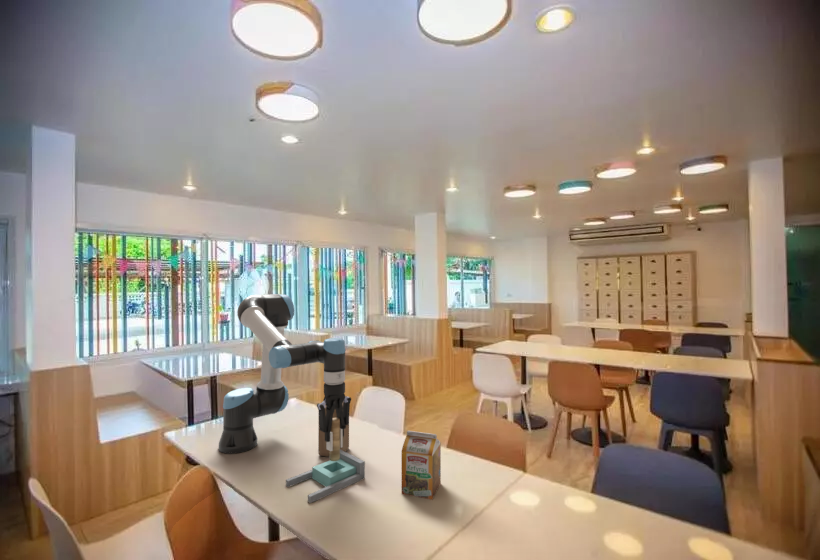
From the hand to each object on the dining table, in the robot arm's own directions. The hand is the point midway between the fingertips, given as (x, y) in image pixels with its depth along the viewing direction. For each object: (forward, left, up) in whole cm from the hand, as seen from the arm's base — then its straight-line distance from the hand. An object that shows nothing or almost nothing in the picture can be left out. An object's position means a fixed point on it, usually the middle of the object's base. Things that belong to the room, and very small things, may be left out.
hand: (334, 448), depth 141 cm
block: (-18, +13, -11) cm, 25 cm away
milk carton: (+27, +17, -11) cm, 33 cm away
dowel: (0, 0, -4) cm, 4 cm away
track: (0, -3, -11) cm, 11 cm away
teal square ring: (0, 0, -11) cm, 11 cm away
